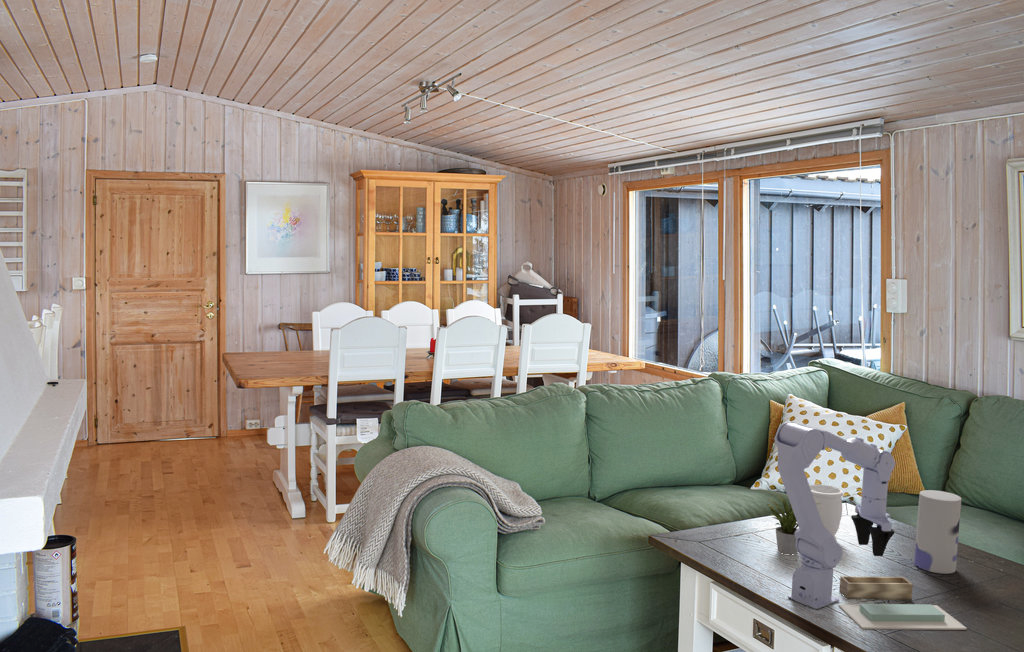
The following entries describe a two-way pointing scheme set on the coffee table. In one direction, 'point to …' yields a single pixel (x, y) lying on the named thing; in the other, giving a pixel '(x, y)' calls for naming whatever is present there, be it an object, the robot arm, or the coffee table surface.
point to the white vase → (828, 506)
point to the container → (937, 531)
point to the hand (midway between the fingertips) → (870, 550)
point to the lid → (902, 612)
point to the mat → (867, 624)
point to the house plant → (785, 528)
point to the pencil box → (876, 588)
